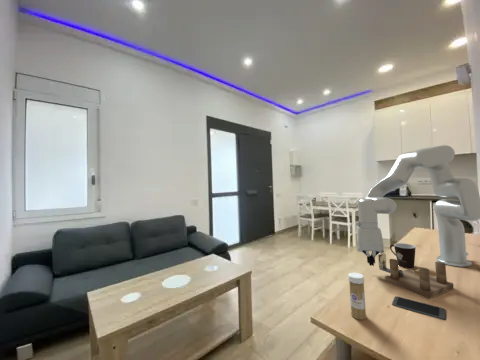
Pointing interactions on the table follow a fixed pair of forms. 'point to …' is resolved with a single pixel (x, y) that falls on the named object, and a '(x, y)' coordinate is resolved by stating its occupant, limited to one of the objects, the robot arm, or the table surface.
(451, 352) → the table surface
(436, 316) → the cell phone
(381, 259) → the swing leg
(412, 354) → the table surface
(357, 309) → the sprinkles bottle
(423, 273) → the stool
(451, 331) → the table surface
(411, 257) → the coffee mug
